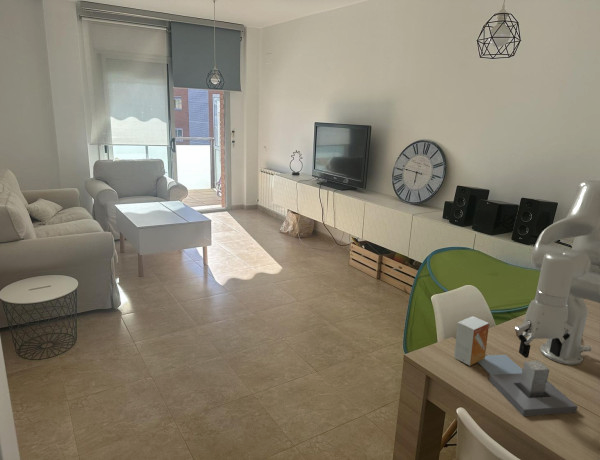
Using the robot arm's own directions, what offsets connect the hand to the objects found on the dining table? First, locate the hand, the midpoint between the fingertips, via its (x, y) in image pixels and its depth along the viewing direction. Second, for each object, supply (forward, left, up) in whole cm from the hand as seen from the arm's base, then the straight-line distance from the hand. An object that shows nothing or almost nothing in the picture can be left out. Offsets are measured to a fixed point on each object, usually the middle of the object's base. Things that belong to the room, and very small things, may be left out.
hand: (538, 354), depth 121 cm
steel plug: (0, 0, -13) cm, 13 cm away
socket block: (0, 0, -13) cm, 13 cm away
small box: (+7, -20, -13) cm, 25 cm away
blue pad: (0, -15, -13) cm, 20 cm away
